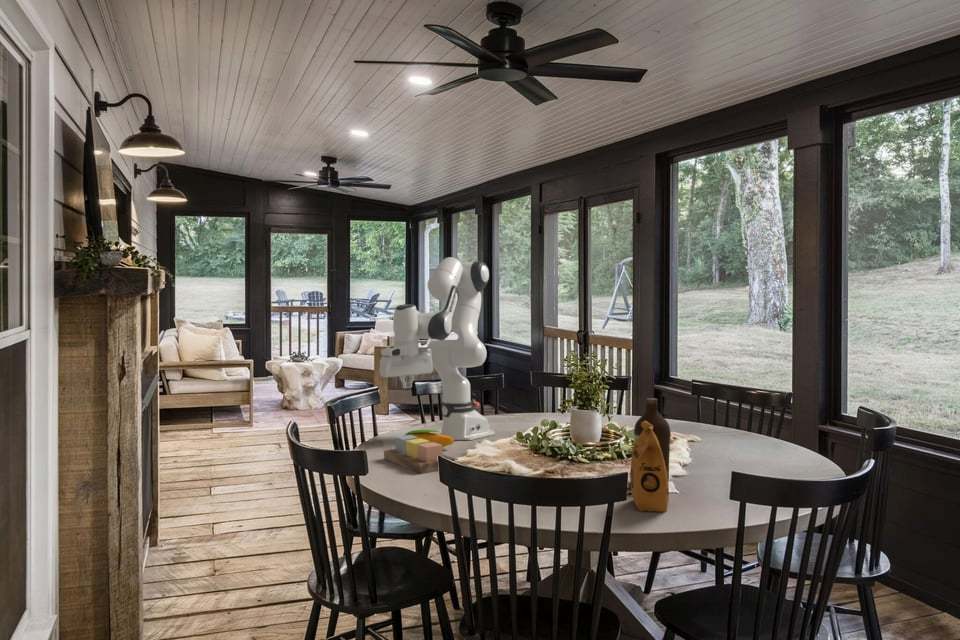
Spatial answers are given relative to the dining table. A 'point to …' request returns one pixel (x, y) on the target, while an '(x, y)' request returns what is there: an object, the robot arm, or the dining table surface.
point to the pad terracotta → (429, 451)
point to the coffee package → (649, 473)
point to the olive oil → (656, 428)
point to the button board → (412, 461)
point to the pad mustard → (414, 446)
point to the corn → (432, 437)
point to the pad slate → (402, 442)
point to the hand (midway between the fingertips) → (407, 387)
